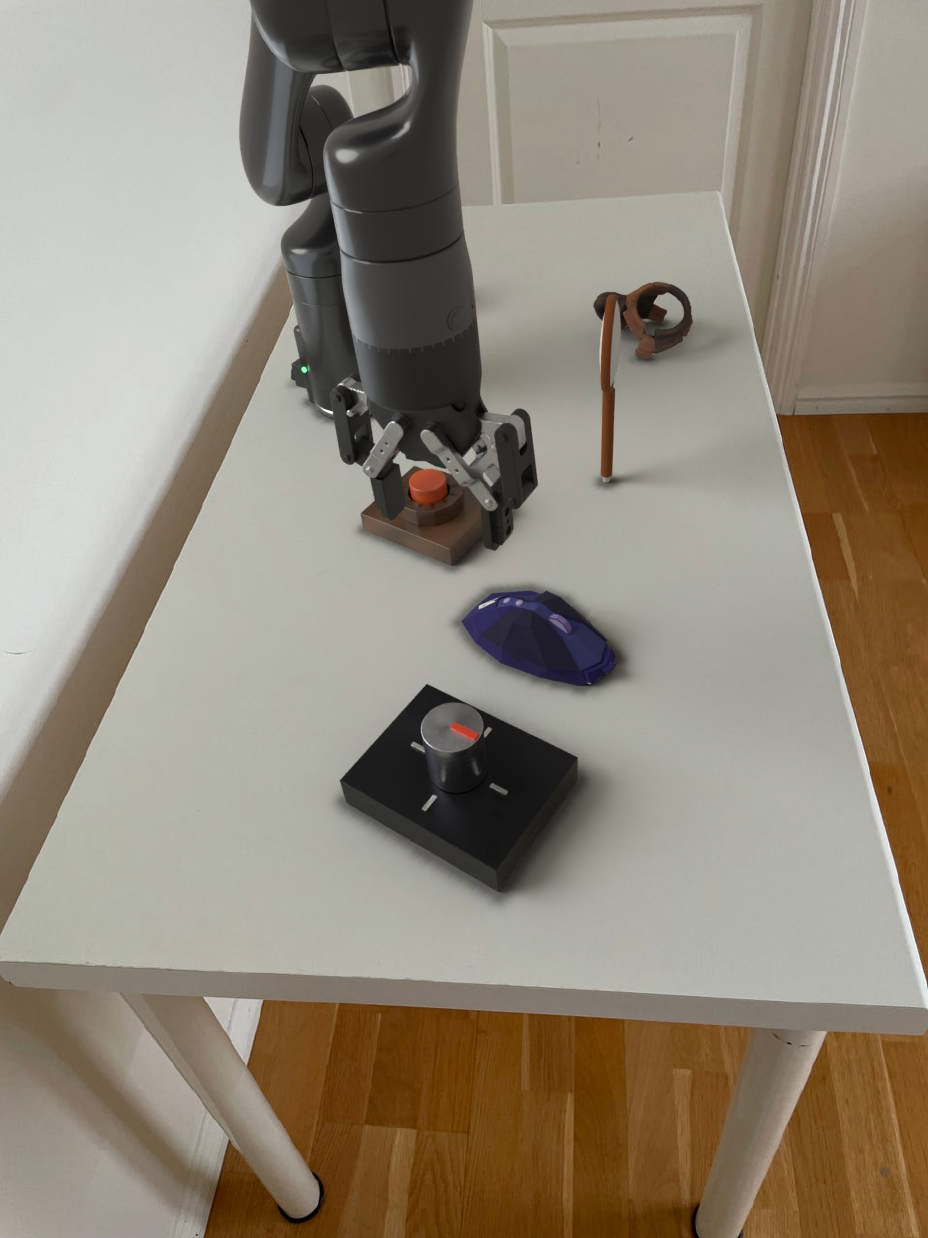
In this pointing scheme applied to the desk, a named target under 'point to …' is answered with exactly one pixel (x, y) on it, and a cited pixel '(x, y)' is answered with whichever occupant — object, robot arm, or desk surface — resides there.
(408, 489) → the block
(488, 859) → the panel
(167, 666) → the desk surface
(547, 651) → the computer mouse
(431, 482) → the button
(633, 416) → the desk surface
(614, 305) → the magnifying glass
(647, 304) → the brown ring sculpture
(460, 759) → the hob knob
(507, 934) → the desk surface
